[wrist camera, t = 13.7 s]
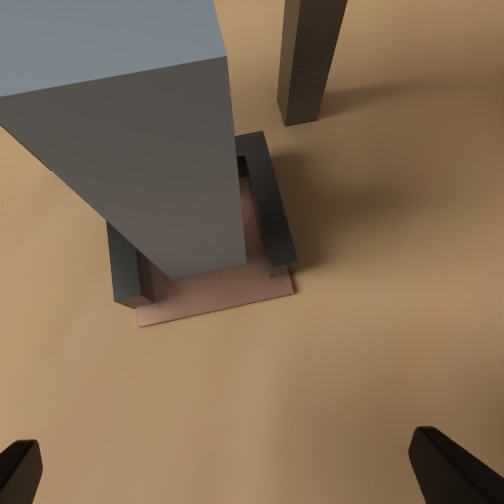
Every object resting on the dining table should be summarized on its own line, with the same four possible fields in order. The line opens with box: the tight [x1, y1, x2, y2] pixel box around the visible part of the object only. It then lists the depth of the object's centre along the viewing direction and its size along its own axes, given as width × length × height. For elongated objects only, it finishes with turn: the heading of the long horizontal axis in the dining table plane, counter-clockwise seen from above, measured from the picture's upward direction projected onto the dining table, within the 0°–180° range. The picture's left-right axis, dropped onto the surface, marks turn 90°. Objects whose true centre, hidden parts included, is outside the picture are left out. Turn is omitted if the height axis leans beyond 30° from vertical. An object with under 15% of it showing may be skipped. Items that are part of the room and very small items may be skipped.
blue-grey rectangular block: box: [0, 0, 247, 279], centre depth 12 cm, size 4×4×13 cm
